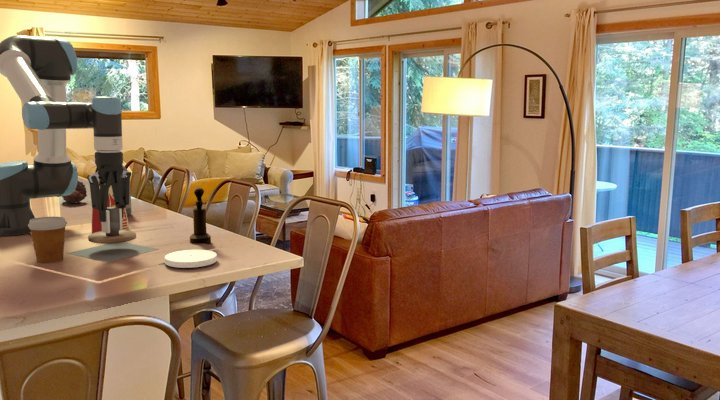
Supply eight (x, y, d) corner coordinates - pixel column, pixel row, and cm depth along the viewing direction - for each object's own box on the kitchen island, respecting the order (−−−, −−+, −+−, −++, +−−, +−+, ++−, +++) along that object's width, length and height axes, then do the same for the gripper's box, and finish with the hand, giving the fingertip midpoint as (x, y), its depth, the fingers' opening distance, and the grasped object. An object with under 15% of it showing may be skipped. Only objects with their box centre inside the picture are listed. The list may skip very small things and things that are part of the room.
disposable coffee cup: (53, 267, 161) (50, 223, 159) (22, 265, 162) (19, 221, 161) (76, 259, 170) (74, 217, 168) (47, 256, 172) (44, 215, 170)
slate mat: (66, 255, 174) (66, 253, 173) (118, 243, 189) (118, 241, 189) (108, 264, 165) (108, 262, 165) (159, 250, 180) (159, 248, 180)
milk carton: (130, 233, 204) (128, 174, 200) (108, 238, 195) (105, 177, 192) (110, 230, 207) (107, 172, 204) (88, 235, 199) (85, 175, 196)
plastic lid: (167, 273, 158) (167, 264, 158) (162, 260, 171) (161, 251, 171) (221, 268, 164) (221, 259, 163) (212, 256, 176) (212, 247, 176)
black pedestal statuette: (191, 240, 194) (190, 185, 191) (212, 240, 195) (211, 185, 192) (187, 245, 187) (186, 188, 185) (209, 245, 188) (207, 188, 185)
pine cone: (56, 201, 265) (55, 178, 263) (80, 199, 271) (79, 177, 269) (67, 206, 251) (65, 182, 250) (92, 204, 258) (90, 181, 256)
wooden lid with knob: (78, 239, 174) (76, 208, 172) (116, 231, 185) (114, 202, 184) (108, 245, 168) (107, 214, 166) (145, 237, 179) (144, 207, 178)
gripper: (91, 154, 163) (96, 238, 167) (141, 150, 178) (143, 227, 182) (74, 152, 167) (78, 234, 171) (123, 148, 181) (126, 224, 185)
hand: (112, 230), depth 176 cm, fingers closed on wooden lid with knob, 3 cm apart
